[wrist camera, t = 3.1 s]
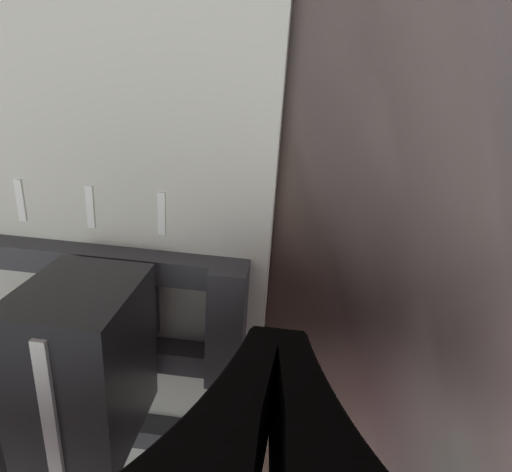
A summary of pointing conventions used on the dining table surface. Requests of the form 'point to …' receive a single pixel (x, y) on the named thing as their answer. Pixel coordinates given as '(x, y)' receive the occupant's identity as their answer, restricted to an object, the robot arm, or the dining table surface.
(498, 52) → the dining table surface
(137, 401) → the fader knob
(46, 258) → the mixing board
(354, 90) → the dining table surface
